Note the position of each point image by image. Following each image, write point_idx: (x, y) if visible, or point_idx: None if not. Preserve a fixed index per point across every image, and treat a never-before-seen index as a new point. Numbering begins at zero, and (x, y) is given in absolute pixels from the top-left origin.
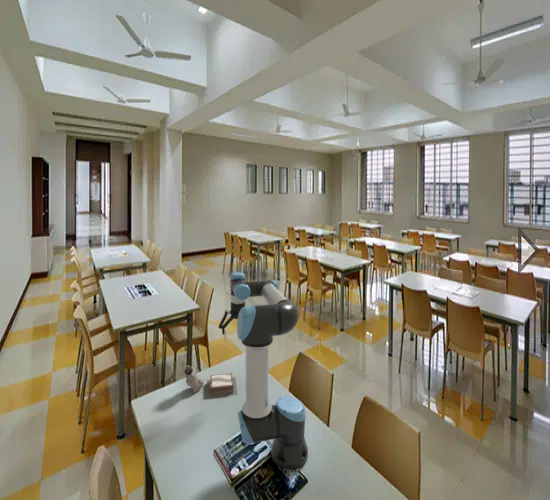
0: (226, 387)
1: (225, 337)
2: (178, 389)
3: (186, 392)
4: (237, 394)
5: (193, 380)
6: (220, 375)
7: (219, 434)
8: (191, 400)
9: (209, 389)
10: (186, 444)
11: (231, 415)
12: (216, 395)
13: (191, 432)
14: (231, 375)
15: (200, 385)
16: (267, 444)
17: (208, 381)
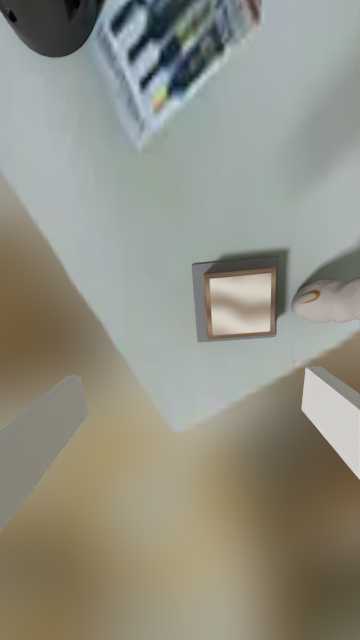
0: (225, 272)
1: (341, 389)
2: None
3: None
4: (192, 266)
5: (343, 284)
6: (243, 329)
7: (242, 91)
8: (318, 252)
9: None
10: (337, 48)
11: (208, 176)
12: (249, 266)
13: (322, 105)
14: (210, 328)
15: (303, 291)
16: (109, 37)
17: None
